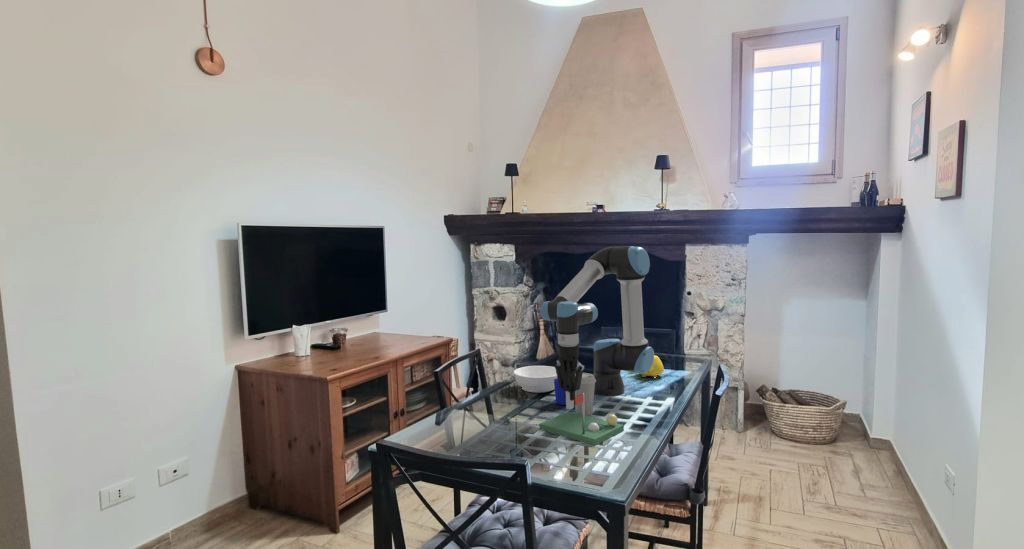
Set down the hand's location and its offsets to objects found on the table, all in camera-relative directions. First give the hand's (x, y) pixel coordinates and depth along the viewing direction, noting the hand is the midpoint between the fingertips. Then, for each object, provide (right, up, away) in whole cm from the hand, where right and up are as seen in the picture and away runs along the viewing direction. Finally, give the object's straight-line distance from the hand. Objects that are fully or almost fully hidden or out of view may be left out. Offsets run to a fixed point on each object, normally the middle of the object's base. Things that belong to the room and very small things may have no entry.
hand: (570, 408), depth 199 cm
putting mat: (+4, -7, -4) cm, 9 cm away
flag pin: (+2, -6, -15) cm, 16 cm away
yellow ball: (+14, -3, -6) cm, 16 cm away
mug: (+2, -5, +27) cm, 28 cm away
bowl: (-9, -4, +50) cm, 51 cm away
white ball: (+7, -5, -8) cm, 12 cm away
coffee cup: (+7, -6, +15) cm, 17 cm away
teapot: (+46, -1, +70) cm, 84 cm away
